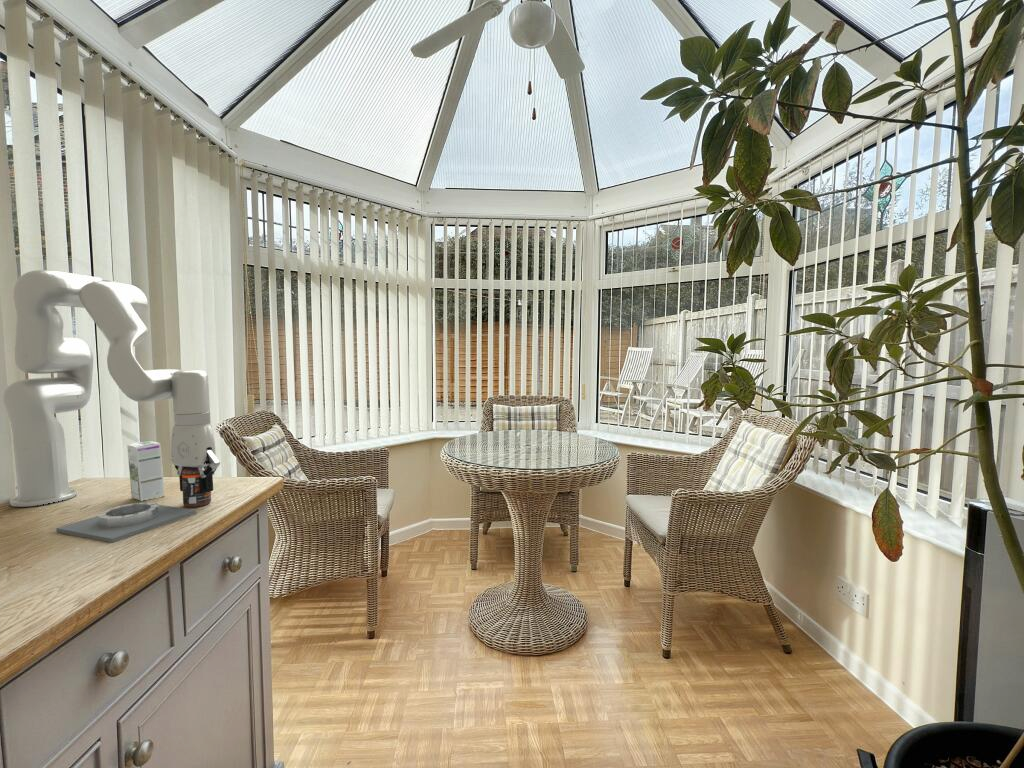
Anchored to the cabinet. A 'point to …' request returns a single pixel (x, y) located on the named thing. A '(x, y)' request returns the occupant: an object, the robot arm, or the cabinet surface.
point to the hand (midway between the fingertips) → (196, 490)
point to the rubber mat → (112, 534)
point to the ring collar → (117, 520)
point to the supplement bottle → (193, 488)
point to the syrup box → (146, 470)
